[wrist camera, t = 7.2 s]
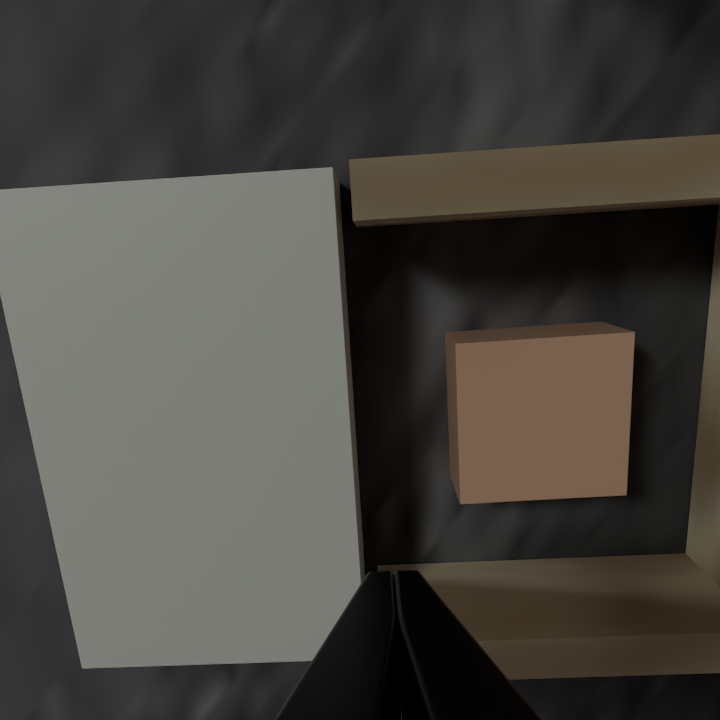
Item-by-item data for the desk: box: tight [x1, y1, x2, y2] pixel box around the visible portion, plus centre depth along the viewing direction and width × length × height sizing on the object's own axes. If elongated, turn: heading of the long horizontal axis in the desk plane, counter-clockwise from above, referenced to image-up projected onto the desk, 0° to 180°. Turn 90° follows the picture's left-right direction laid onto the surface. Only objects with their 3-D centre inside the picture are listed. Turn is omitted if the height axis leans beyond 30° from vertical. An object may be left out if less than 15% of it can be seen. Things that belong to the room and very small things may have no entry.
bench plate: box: [0, 167, 365, 668], centre depth 17 cm, size 16×10×3 cm, turn 3°
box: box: [349, 134, 720, 680], centre depth 16 cm, size 16×14×4 cm
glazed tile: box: [445, 322, 635, 504], centre depth 17 cm, size 6×6×2 cm
